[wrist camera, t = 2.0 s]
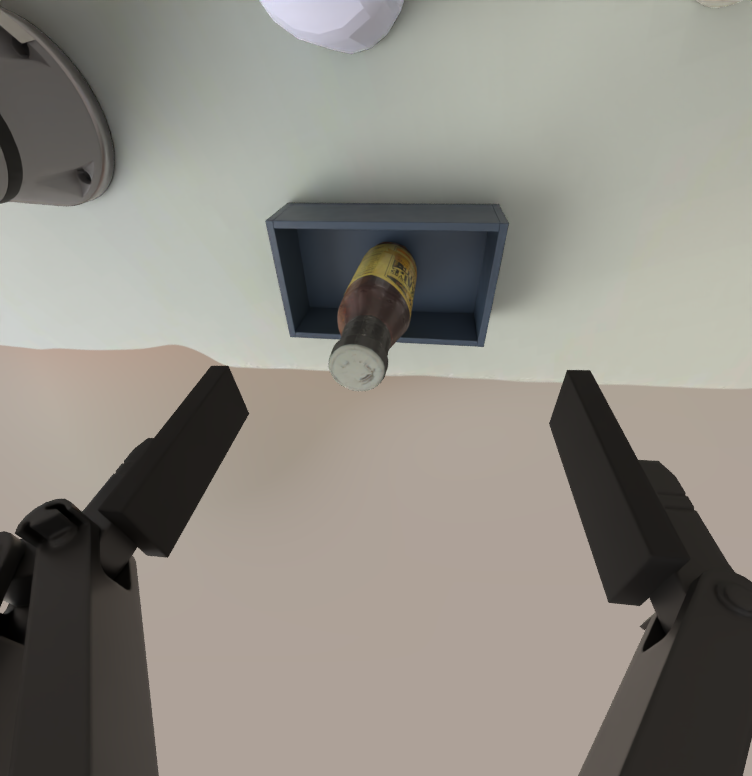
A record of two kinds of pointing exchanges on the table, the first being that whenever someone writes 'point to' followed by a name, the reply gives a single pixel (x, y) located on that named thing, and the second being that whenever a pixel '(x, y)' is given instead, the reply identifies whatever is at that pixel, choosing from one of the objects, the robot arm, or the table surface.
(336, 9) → the spray bottle
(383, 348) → the sauce bottle
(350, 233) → the open storage box
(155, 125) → the table surface
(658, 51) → the table surface
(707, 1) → the beer glass
